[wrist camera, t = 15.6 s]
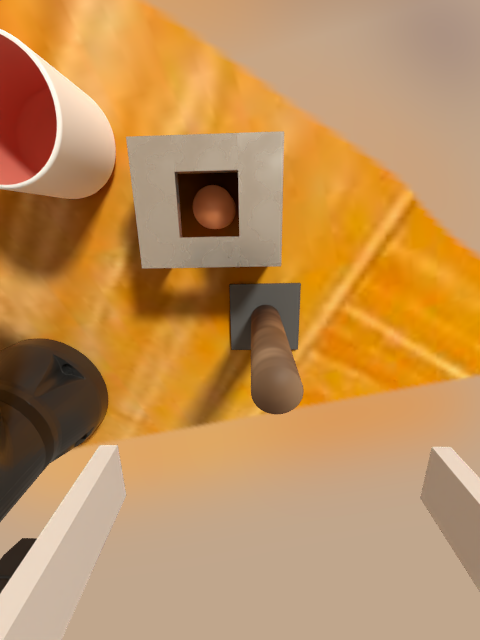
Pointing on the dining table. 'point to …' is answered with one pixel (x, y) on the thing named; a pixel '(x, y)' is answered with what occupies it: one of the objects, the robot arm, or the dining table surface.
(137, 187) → the grey box with hole
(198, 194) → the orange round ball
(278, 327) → the rod
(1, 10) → the dining table surface
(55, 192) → the cup
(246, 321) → the coaster
